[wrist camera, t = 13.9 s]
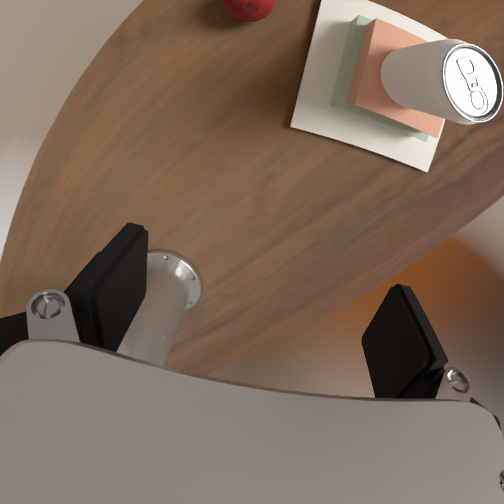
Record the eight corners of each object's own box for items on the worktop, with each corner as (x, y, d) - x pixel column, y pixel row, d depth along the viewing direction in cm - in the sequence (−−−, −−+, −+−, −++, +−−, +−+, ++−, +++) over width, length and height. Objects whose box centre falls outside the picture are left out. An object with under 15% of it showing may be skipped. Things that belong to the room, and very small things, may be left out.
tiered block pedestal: (423, 170, 36) (454, 193, 28) (290, 125, 35) (293, 137, 28) (458, 47, 25) (496, 45, 18) (323, -11, 25) (335, -36, 17)
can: (395, 117, 25) (455, 140, 15) (368, 59, 22) (421, 47, 12) (443, 98, 23) (515, 116, 13) (419, 42, 20) (487, 31, 10)
